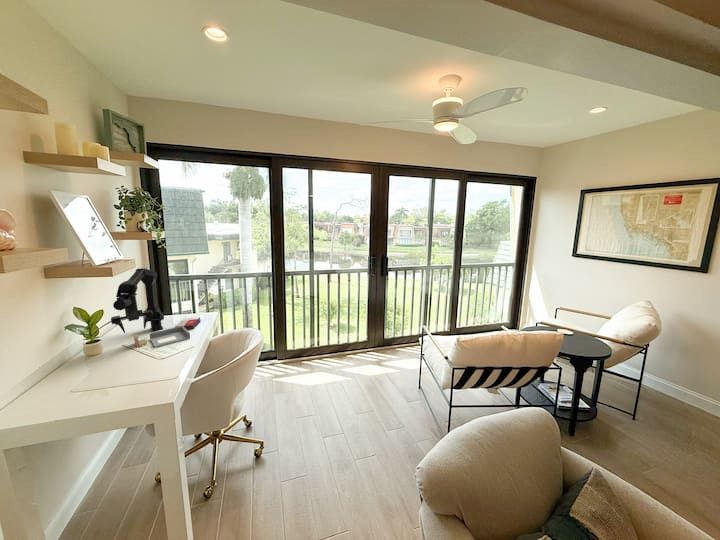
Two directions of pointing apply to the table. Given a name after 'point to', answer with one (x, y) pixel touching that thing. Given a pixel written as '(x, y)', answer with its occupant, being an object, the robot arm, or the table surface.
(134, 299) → the robot arm
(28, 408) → the table surface
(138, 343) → the bracket
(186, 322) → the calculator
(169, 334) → the arena
